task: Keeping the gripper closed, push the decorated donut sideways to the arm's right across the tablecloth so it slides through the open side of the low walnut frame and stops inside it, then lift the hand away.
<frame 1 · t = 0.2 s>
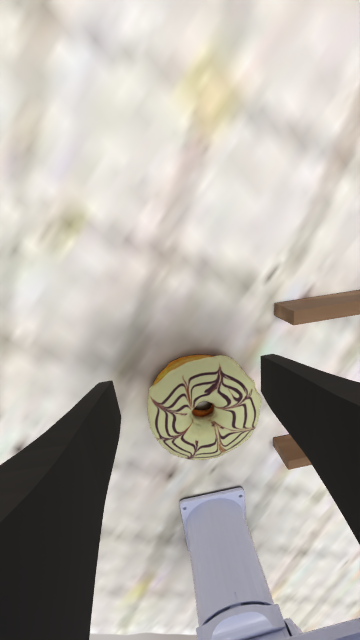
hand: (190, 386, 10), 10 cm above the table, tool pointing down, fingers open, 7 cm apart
walnut frame: (340, 370, 24), on the table
decorated donut: (199, 393, 23), on the table
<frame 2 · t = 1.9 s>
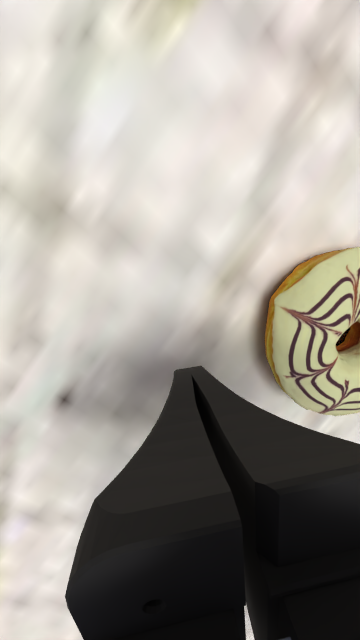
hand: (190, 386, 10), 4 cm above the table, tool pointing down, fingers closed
decorated donut: (322, 324, 16), on the table
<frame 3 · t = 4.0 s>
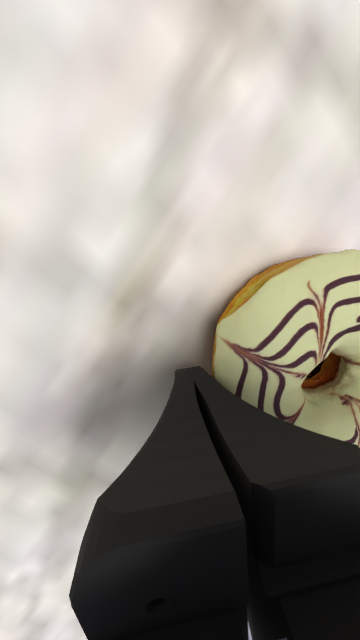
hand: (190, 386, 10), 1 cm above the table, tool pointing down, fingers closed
decorated donut: (291, 349, 12), on the table, touching gripper
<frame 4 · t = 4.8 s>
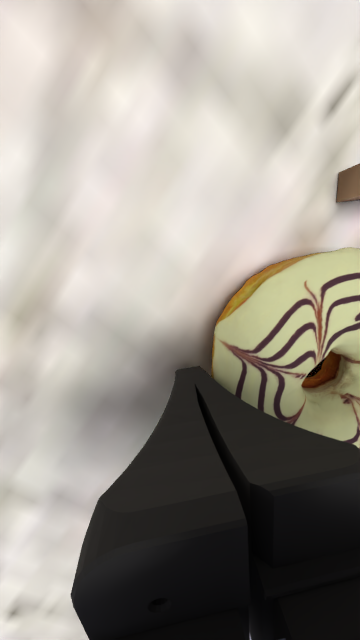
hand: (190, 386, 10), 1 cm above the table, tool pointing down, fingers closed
decorated donut: (291, 348, 12), on the table, touching gripper
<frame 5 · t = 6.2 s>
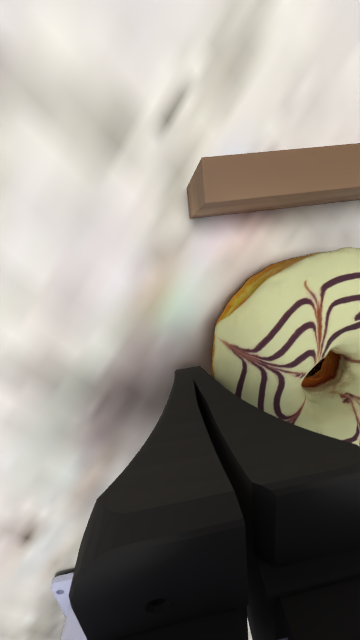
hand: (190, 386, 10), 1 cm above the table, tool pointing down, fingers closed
walnut frame: (334, 346, 12), on the table
decorated donut: (291, 348, 12), on the table, touching gripper
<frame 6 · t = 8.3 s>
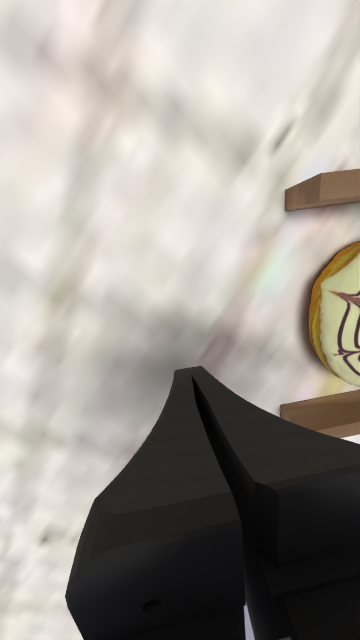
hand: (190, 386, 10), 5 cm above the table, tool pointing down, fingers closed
decorated donut: (358, 305, 17), on the table
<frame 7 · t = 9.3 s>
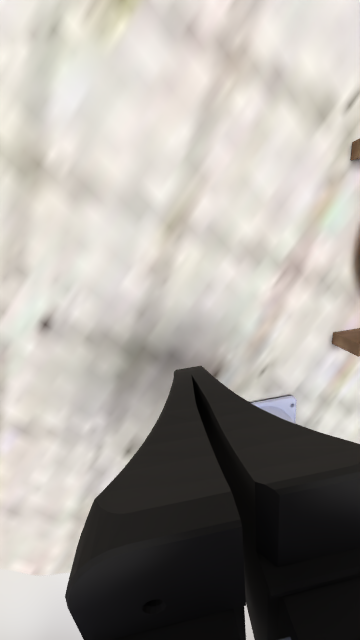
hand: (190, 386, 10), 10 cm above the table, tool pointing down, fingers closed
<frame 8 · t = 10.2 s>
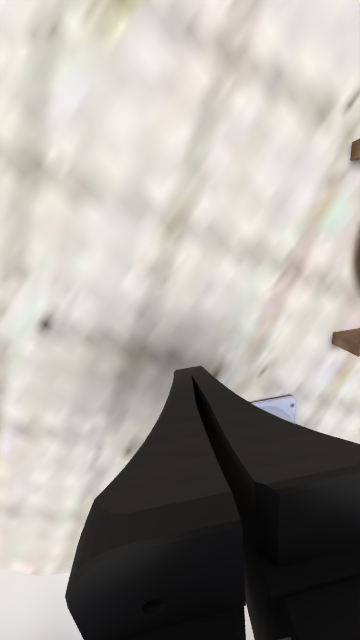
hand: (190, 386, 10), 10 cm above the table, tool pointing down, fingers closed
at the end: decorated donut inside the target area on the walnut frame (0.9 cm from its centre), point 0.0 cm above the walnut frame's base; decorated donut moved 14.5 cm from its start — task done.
